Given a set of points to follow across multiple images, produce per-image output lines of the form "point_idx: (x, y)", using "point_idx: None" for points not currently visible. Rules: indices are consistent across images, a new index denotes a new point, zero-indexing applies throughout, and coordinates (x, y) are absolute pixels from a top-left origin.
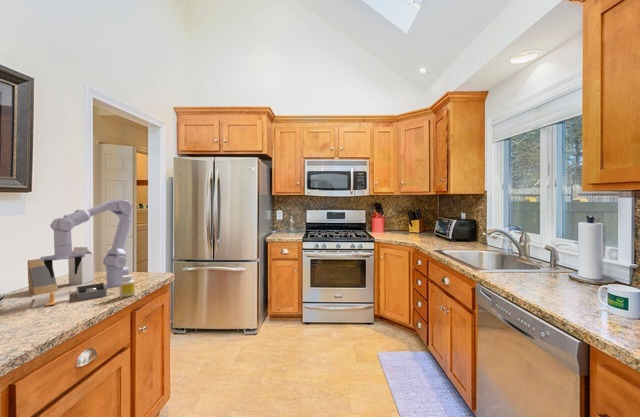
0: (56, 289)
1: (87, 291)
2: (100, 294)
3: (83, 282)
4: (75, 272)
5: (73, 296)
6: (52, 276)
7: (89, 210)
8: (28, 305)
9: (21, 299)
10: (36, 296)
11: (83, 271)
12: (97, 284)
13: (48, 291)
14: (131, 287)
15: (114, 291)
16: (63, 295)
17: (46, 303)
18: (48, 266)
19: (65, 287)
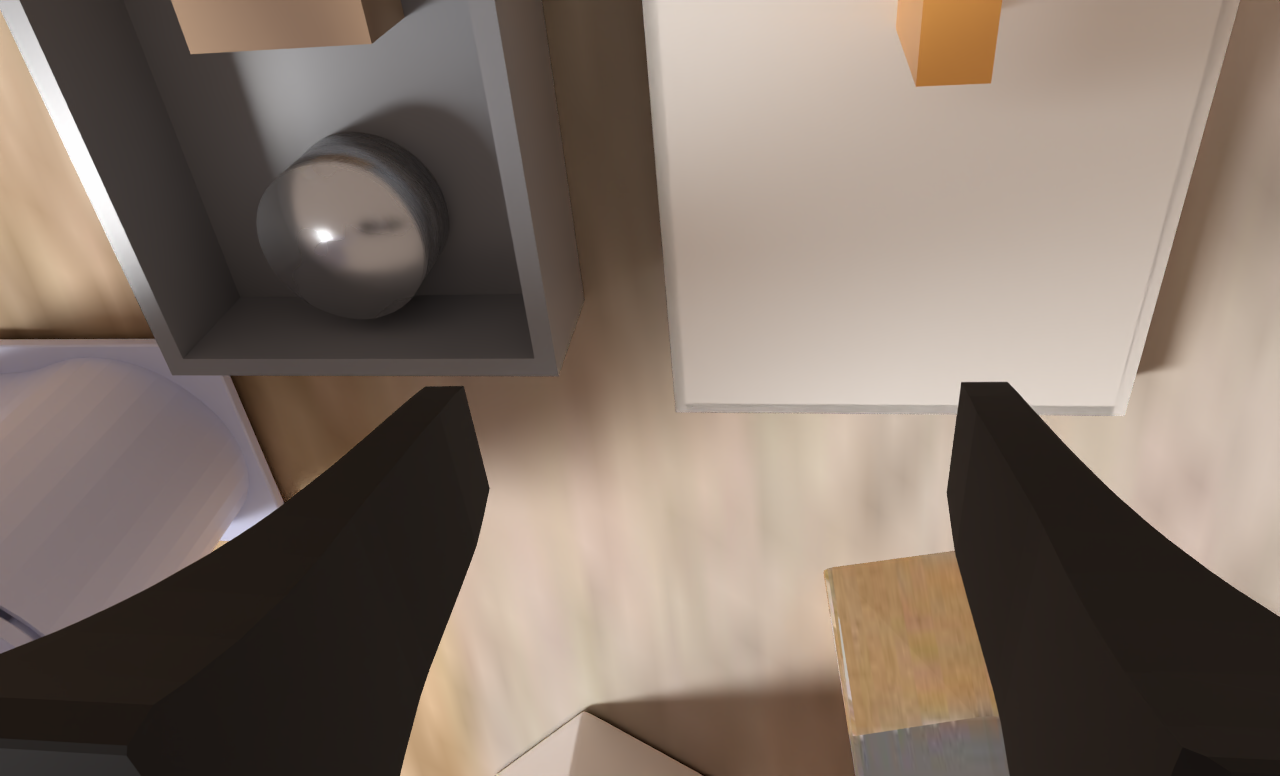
0: (848, 622)
1: (337, 15)
2: None
3: (568, 736)
4: (421, 407)
5: (619, 203)
6: (988, 392)
7: None
8: (1272, 82)
9: (1257, 519)
10: (1119, 410)
11: None
12: (262, 353)
13: (940, 603)
14: None
15: (19, 82)
16: (752, 187)
17: None
18: (1252, 638)
19: (754, 714)
